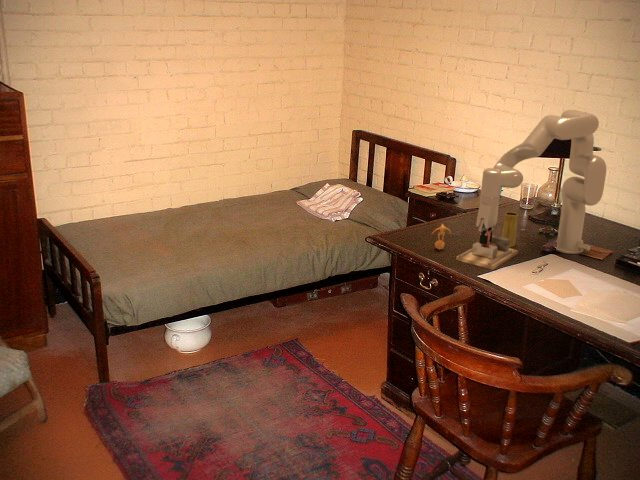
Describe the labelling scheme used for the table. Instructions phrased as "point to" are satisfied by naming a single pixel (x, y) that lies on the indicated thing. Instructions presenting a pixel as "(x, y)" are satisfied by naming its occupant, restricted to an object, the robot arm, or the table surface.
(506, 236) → the vase
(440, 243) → the figurine
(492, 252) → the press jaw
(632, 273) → the table surface
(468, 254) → the nutcracker base
